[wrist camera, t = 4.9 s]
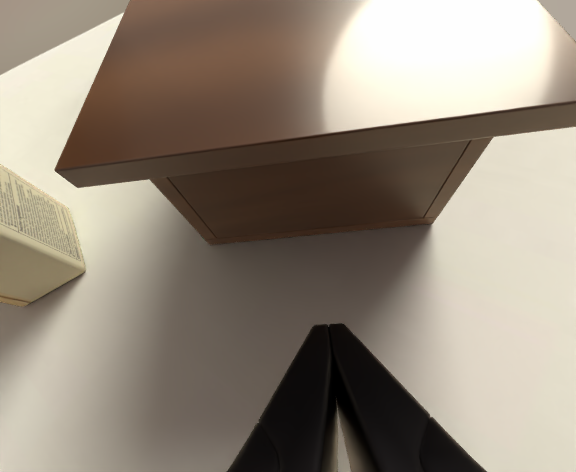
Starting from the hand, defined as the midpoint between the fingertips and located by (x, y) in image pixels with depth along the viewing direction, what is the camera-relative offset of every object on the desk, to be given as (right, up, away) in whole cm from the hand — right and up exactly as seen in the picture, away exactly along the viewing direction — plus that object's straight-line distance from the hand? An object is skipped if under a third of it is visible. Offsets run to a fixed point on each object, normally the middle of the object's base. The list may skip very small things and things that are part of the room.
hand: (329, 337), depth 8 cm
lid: (-1, +10, +2) cm, 10 cm away
